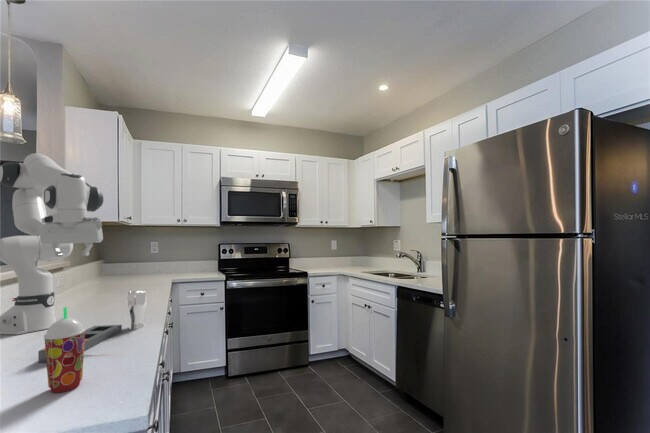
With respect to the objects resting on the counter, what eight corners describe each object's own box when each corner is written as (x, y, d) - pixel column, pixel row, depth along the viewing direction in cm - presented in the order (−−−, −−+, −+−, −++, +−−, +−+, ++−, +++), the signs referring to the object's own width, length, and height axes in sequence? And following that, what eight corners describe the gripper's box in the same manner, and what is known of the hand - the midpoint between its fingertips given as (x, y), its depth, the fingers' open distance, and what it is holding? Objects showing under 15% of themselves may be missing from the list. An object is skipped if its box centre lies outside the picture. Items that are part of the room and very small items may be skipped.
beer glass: (138, 332, 132) (137, 293, 133) (122, 331, 134) (122, 293, 134) (150, 327, 139) (150, 290, 140) (135, 326, 141) (135, 290, 141)
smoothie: (59, 381, 90) (59, 304, 90) (93, 379, 90) (92, 303, 91) (35, 397, 81) (35, 312, 82) (72, 394, 82) (71, 310, 83)
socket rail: (72, 361, 104) (72, 348, 104) (38, 362, 104) (38, 350, 104) (121, 333, 131) (121, 323, 131) (94, 335, 131) (94, 325, 131)
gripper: (106, 217, 128) (106, 254, 128) (50, 218, 127) (50, 256, 127) (95, 216, 122) (96, 255, 121) (36, 218, 121) (36, 257, 120)
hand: (72, 256), depth 124 cm, fingers open, 8 cm apart
